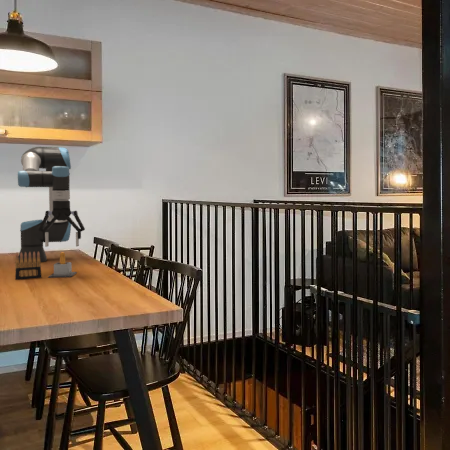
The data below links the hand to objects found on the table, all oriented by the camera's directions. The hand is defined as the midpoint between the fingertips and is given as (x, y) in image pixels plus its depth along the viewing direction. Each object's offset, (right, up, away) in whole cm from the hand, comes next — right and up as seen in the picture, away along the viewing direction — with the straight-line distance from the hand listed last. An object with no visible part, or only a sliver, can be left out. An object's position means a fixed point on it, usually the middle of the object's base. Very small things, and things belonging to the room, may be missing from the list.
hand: (62, 246), depth 218 cm
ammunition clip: (-12, -14, -8) cm, 20 cm away
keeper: (0, -13, 0) cm, 13 cm away
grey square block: (0, -13, 0) cm, 13 cm away
